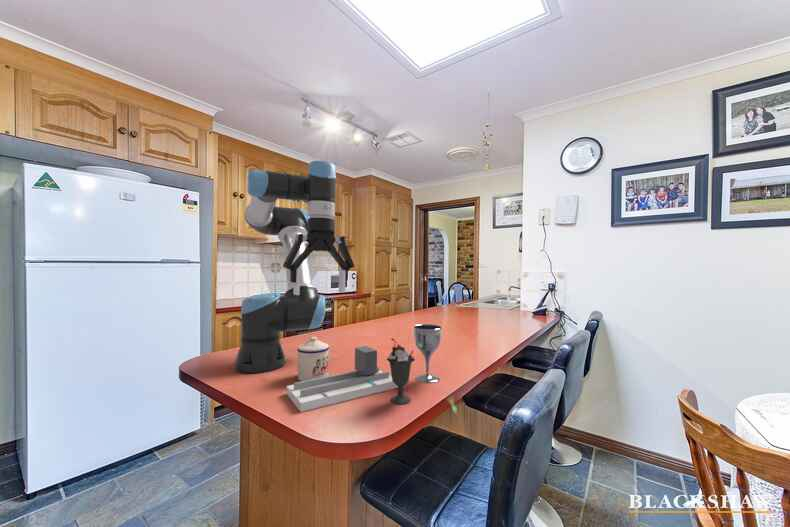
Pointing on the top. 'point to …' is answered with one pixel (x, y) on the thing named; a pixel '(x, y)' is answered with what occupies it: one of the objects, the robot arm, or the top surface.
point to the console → (337, 389)
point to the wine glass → (427, 347)
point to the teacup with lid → (313, 359)
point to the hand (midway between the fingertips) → (320, 293)
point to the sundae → (400, 371)
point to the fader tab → (365, 361)
